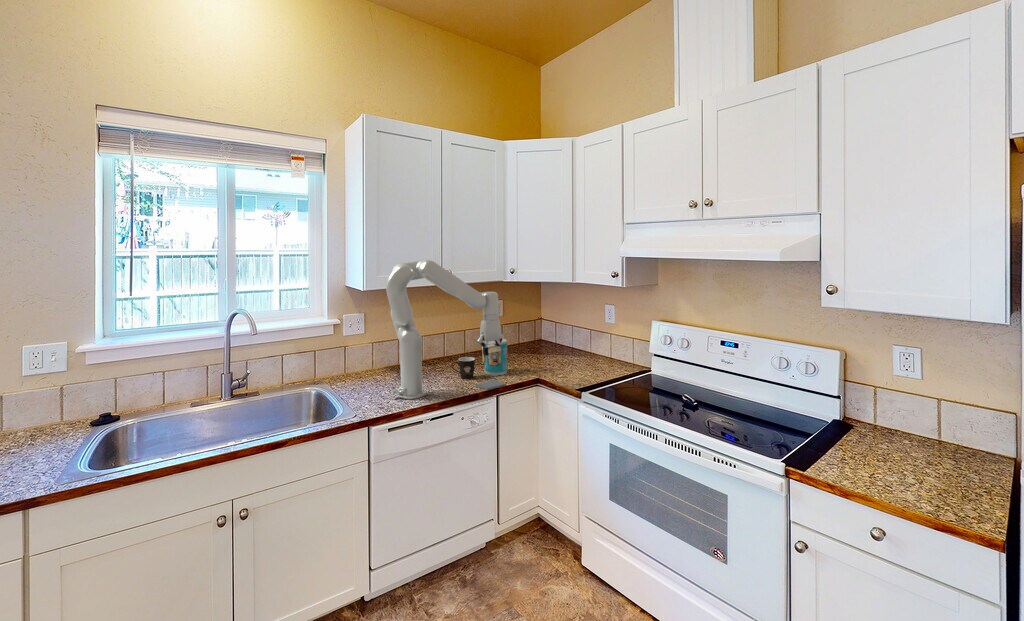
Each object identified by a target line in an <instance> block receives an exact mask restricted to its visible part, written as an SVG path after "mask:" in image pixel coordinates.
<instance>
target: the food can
mask: <svg viewBox="0 0 1024 621" xmlns="http://www.w3.org/2000/svg"><path fill="white" fill-rule="evenodd" d="M485 343H486V342H485ZM488 345H495V341H490V342H488ZM488 345H487V346H488ZM500 347H501V363H498V361H497V360H496V361H493V365H489V352H488V356H486V363H484V372H485V375H487V376H493V377H498V375H501V376H504V374H505V375H507V373H508V340H507V339H506V338H503V339H502V342H501V344H500ZM496 358H497V353H496V352H494V359H496Z"/></svg>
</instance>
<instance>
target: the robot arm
mask: <svg viewBox="0 0 1024 621" xmlns="http://www.w3.org/2000/svg"><path fill="white" fill-rule="evenodd" d="M389 275H390V276H388V279H387V282H386V285H385V286H386V288H385V290H386V295H387V300H388V303H389V308H390V317H391V321H392V324H393V327H394V330H395V334H396V337H397V339H398V341H399V362H400V365H399V367H400V385H399V387H398V388H396V389H392V390H391V391H390V393H391V395H395V394H396V395H397V396H398V397H399V398H400V399H404V400H405V399H406V400H413V399H419V398H422V397H425V396H426V395H427V391H426V390H425V388H424V389H423V369H422V368H423V365H422V364H423V360H422V346H423V341H422V340H423V339H422V334H421V332H420V330H418V328H417V327H416V323H415V320H414V319H415V318H414V311H413V309H412V306H411V303H410V300H409V296H408V292H407V291H408V290H407V286H408V284H409V283H410V282H411V281H416V280H421V279H426V280H427V281H429V282H430V283H431V284H433V285H434V286H436V287H437V288H439V289H440V290H442V291H444V292H445V293H447V294H448V295H451V296H454V297H455V298H457V299H459V300H460V301H462V302H463V303H465V304H466V305H467V306H468V307H470V308H472V309H474V310H482V320H481V321H480V327H479V337H478V339H477V340H476V341H477V342H478V344H479V345H480V346H481V348H482V347H483V355H486V356H488V347H487V345H488V342H490V341H495V345H496V346H500V344H501V342H502V339H505V335H504V334H503V333H502V328H501V326H502V325H501V321H500V319H499V317H500V316H501V314H500V313H499V294H498V293H497V292H496V291H485V292H480V291H478V290H477V289H475V288H474V287H472V286H470V285H469V284H468V283H466V282H465V281H463V280H462V279H461V278H459V277H457V276H456V275H454V274H453V273H451V272H450V271H449V270H447V269H446V268H445V267H442V266H441V265H440V264H438V263H436V261H433V260H432V259H431V260H430V259H422V260H417V261H411V262H404V263H403V262H402V263H401V262H400V263H398V264H395V265H394V267H393V268H392V270H391V273H390V274H389ZM485 342H486V343H485ZM496 353H497V352H496Z"/></svg>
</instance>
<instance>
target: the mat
mask: <svg viewBox="0 0 1024 621" xmlns="http://www.w3.org/2000/svg"><path fill="white" fill-rule="evenodd" d="M503 385H506V386H507V383H505V382H502V381H500V380H496V379H493V380H488V381H483V382H481V383H477V384H475V387H477V386H478V387H477V388H479V389H482V388H483V389H482V390H485V389H486V390H485V391H490V390H494V389H496V388H497V387H498V388H501V387H500V386H502V387H504V386H503ZM493 388H494V389H493ZM489 389H490V390H489Z"/></svg>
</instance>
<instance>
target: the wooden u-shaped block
mask: <svg viewBox="0 0 1024 621" xmlns="http://www.w3.org/2000/svg"><path fill="white" fill-rule="evenodd" d="M487 347H488V352H489V365H493V361H496V360H497V361H498V363H501V347H500V346H496V345H488V346H487ZM494 352H497V358H496V359H494ZM481 353H482V354H481V355H482V359H481V360H482V364H485V363H486V355H483V347H482V346H481Z"/></svg>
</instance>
